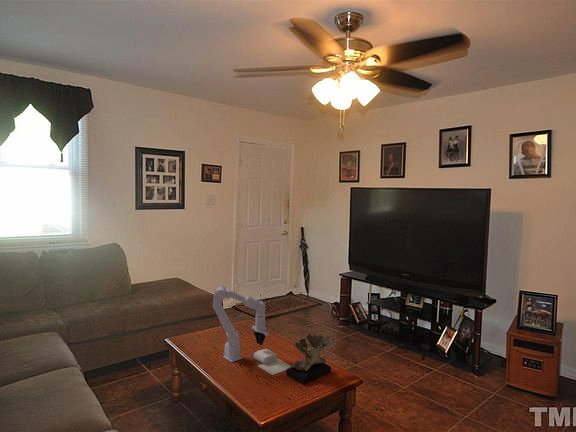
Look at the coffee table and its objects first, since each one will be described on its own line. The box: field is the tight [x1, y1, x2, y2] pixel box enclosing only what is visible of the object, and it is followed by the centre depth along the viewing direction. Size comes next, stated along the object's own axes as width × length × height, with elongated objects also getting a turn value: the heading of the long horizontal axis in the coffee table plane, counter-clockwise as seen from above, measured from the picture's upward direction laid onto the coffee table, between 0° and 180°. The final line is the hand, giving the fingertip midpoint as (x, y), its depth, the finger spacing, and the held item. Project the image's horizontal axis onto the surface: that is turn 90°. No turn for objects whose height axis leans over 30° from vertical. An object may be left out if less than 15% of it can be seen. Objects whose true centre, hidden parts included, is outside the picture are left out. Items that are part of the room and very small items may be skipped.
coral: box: [285, 333, 335, 386], centre depth 207 cm, size 25×20×22 cm
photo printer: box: [253, 348, 279, 364], centre depth 225 cm, size 10×4×12 cm
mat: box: [257, 358, 293, 376], centre depth 216 cm, size 14×15×1 cm
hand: (259, 344), depth 227 cm, fingers closed
